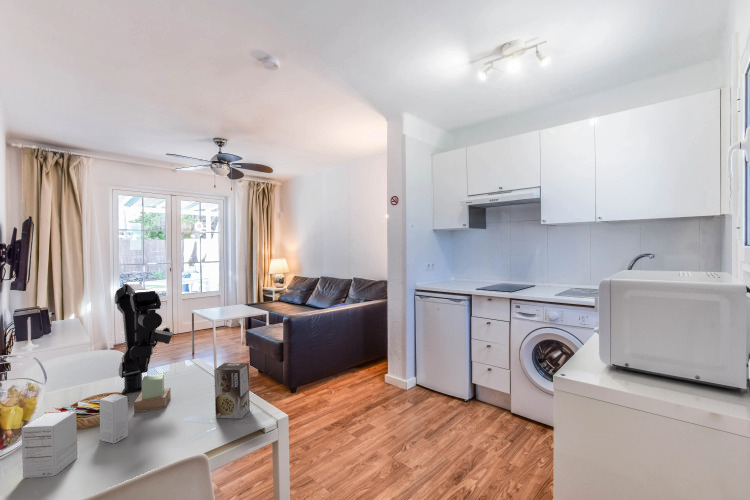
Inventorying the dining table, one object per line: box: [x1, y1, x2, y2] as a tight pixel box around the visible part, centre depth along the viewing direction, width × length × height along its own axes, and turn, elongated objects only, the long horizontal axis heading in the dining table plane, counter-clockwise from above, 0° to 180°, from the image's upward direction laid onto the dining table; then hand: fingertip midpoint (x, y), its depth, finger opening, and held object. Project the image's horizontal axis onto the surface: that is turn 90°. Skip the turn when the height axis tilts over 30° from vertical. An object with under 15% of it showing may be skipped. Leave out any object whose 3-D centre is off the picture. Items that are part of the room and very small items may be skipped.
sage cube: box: [141, 372, 165, 399], centre depth 118 cm, size 6×6×6 cm
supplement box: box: [21, 411, 78, 479], centre depth 84 cm, size 7×7×13 cm
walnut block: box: [133, 387, 171, 413], centre depth 118 cm, size 9×9×4 cm
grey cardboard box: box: [213, 362, 251, 420], centre depth 110 cm, size 9×6×16 cm
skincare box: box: [99, 393, 129, 444], centre depth 97 cm, size 6×4×12 cm
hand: (145, 368), depth 118 cm, fingers open, 9 cm apart
